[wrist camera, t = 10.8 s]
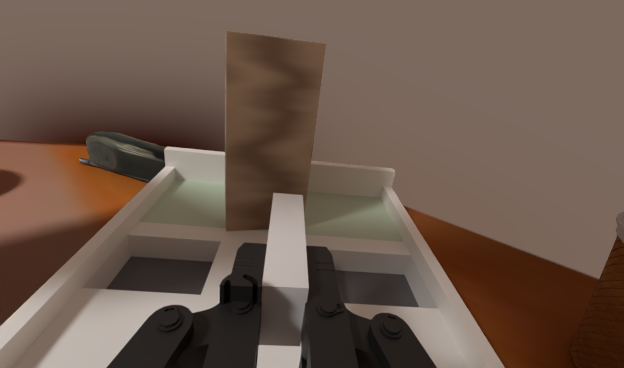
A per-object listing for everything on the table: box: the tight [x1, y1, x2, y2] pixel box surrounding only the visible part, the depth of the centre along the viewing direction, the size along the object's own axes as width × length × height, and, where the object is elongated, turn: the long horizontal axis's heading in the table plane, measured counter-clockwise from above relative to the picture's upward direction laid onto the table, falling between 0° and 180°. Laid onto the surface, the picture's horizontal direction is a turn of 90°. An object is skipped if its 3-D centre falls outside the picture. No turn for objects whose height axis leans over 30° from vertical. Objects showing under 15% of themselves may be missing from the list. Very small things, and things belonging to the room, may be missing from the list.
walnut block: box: [225, 31, 326, 231], centre depth 28 cm, size 7×7×16 cm
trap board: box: [0, 147, 505, 368], centre depth 23 cm, size 31×26×6 cm
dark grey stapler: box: [79, 132, 165, 183], centre depth 40 cm, size 5×3×15 cm
